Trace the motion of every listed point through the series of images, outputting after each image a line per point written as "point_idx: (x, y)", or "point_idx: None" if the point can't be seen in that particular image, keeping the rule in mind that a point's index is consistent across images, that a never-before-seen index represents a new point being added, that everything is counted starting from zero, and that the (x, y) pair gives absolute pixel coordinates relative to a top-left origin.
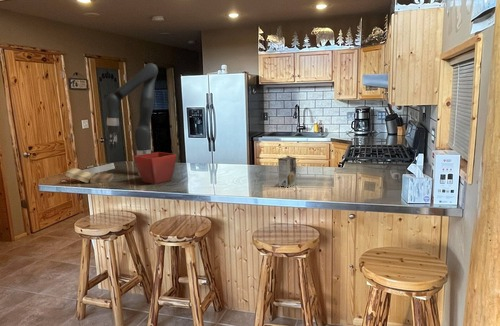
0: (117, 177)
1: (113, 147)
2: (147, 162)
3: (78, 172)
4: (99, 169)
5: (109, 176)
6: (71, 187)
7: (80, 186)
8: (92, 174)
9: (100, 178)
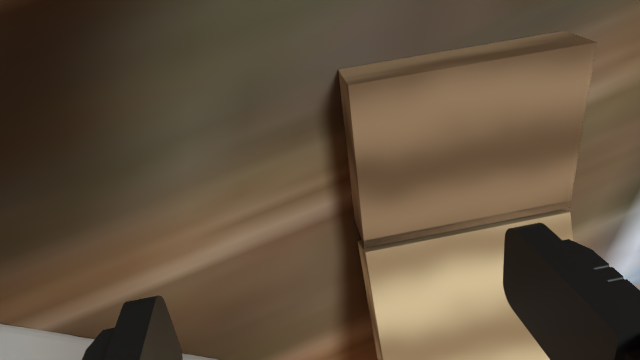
0: (314, 31)
1: (571, 257)
2: None
3: (499, 347)
4: (2, 352)
5: (527, 56)
6: (635, 253)
7: (630, 209)
8: (405, 261)
9: (581, 119)
